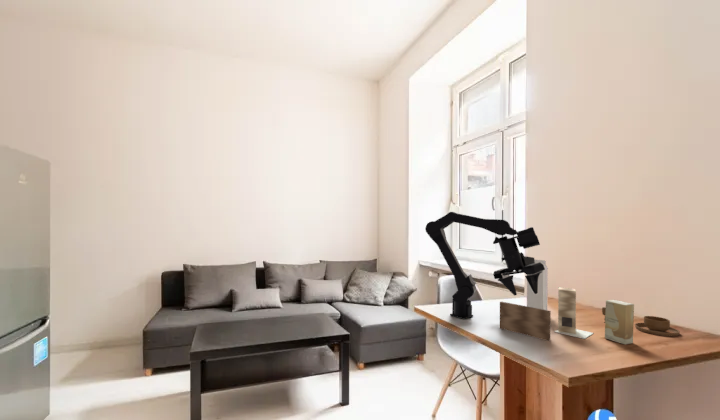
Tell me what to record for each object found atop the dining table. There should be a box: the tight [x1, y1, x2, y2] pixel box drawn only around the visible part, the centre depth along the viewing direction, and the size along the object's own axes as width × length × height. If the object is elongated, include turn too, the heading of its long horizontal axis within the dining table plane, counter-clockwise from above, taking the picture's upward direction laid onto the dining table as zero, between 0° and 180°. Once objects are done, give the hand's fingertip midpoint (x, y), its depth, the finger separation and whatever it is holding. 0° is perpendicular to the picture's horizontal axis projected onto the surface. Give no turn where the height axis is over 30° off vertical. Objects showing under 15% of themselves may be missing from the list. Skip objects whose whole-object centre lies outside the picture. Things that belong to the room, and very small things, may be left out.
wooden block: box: [557, 286, 577, 334], centre depth 121 cm, size 5×5×14 cm
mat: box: [554, 328, 594, 340], centre depth 119 cm, size 9×9×1 cm
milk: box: [526, 259, 549, 310], centre depth 140 cm, size 6×6×22 cm
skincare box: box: [604, 299, 635, 345], centre depth 112 cm, size 6×4×12 cm
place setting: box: [601, 306, 681, 337], centre depth 127 cm, size 18×20×6 cm
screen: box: [499, 301, 552, 342], centre depth 117 cm, size 16×1×9 cm, turn 41°
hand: (525, 294), depth 128 cm, fingers open, 9 cm apart
